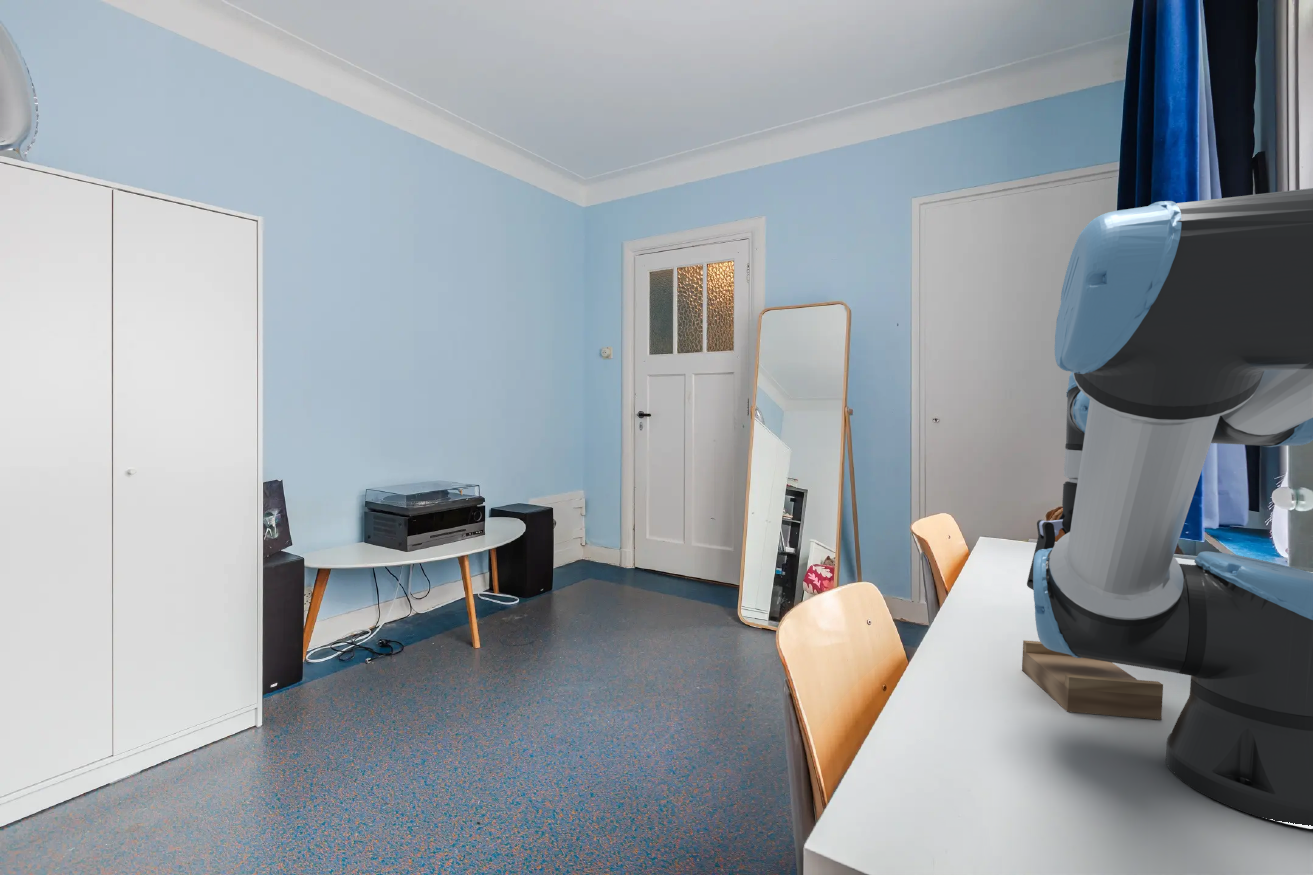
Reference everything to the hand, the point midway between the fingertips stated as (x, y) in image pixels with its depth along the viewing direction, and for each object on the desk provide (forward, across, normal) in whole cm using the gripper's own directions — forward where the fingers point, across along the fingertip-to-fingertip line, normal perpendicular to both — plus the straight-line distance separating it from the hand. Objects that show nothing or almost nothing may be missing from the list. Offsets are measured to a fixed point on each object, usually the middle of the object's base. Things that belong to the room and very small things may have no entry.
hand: (1087, 645), depth 89 cm
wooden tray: (+7, 0, 0) cm, 7 cm away
